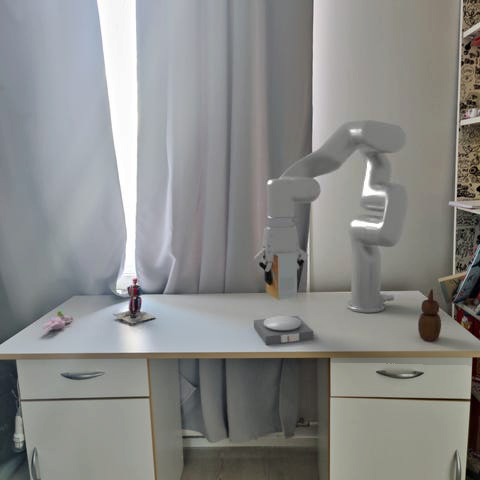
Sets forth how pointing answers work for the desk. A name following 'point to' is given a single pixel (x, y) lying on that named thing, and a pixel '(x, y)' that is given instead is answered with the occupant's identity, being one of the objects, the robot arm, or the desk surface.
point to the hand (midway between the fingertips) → (281, 282)
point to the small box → (283, 276)
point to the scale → (282, 329)
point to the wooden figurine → (429, 319)
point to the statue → (134, 307)
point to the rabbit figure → (58, 321)
